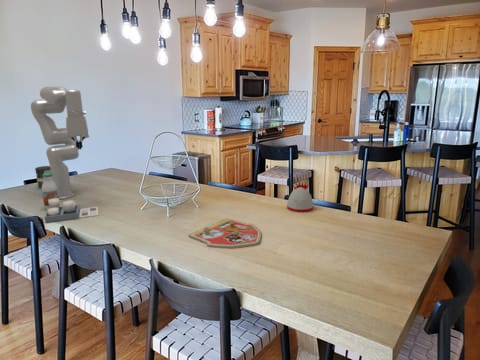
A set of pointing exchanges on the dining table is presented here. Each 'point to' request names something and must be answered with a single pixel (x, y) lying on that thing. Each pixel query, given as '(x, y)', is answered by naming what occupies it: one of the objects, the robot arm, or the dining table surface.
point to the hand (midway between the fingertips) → (79, 149)
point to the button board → (62, 215)
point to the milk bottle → (48, 189)
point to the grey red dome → (300, 199)
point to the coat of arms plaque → (228, 234)
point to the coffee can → (41, 174)
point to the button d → (68, 205)
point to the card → (88, 212)
